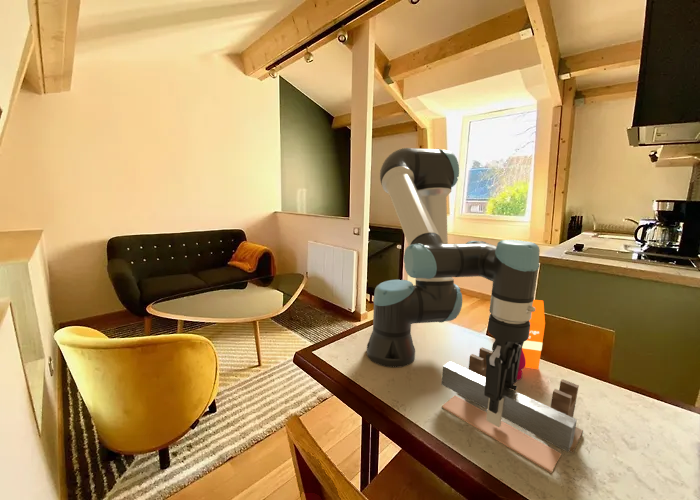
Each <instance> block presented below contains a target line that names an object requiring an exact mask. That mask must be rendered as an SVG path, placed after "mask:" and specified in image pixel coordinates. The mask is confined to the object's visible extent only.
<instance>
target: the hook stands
mask: <svg viewBox="0 0 700 500" xmlns="http://www.w3.org/2000/svg"><path fill="white" fill-rule="evenodd" d="M492 353H493V350H490V349H487V348H485V347H480V348H479V353H478V355H476V354H474V353H471V354H469V355H470V356H469V361H468V370H470V371H473V372H475V373H477V374H479V375H481V376H483V377H486V355H487V354H490V355H492ZM579 387H580V385H579V384H576V383H574V382H571V381H569V380H565V379H563V378H562V379H561V380H560V382H559V389H557V388H554V389H553V390H552V394H551V395H552V396H551V402H550V407H551V408H553V409H555V410H557V411H560V412H562V413H564V414H566V415H568V416H570V417H573V418H574V413H575V408H576V404H577V397H578V392H579ZM583 432H584V430H583V429H581V428H579V427H578V426H576V428H575V433H574V439H573V444H572V445H571V447H570V449H569V451H568V452H570V453H572V454H574V453H575V451H576V449H577V447H578V444H579V443H580V440H581V438H582V436H583V434H584V433H583Z"/></svg>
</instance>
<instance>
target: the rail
mask: <svg viewBox="0 0 700 500" xmlns="http://www.w3.org/2000/svg"><path fill="white" fill-rule="evenodd" d="M485 378H486V377H483V376H481V375H479V374H477V373H475V372H473V371H470V370H469V368H466V367H463V366H462V365H459V364H458V363H455V362H453V361H451V360H450V361H448V362H447V363H445V364H444V365H442V372H441V385H442V386H443V387H445V388H448V389H449V390H451V391H453V392H454V393H456V394H458V395H459V396H462V397H464V398H466V399H468V400H470V401H472V402H474V403H475V404H477V405H479V406H481V407H483V408H484V409H486V410H488V401H489V398H488V397H487V396H485V395H484V391H485ZM502 398H504V402H503V410H502V418H503V419H504V420H507V421H509V422H511V423H512V424H515V425H517V426H518V427H520V428H522V429H524V430H526V431H528V432H529V433H531V434H533V435H535V436H537V437H539V438H540V439H543V440H545V441H546V442H548V443H550V444H552V445H554V446H556V447H558V449H559V448H560V449H561V450H563V451H565V452H567V453H569V452H570V451H569V449H570V447H571V445H572V444H573V439H574V433H575V428H576V427H577V423H578V422H577V421H578V419H577V418H575V417H574V416H573V417H570V416H568V415H566V414H564V413H562V412H560V411H557V410H555V409H553V408H551V406H548V405H546V404H544V403H542V402H540V401H538V400H536V399H534V398H531V397H529V396H527V395H524V394H522V393H520V392H518V391H516V390H513V389H510V388H507V387H505V386H504V389H503V395H502Z"/></svg>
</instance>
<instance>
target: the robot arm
mask: <svg viewBox="0 0 700 500" xmlns="http://www.w3.org/2000/svg"><path fill="white" fill-rule="evenodd" d="M459 175H460V165H459V161H458V159H457V157H456V155H455V154H454V153H453V152H452V151H450V150H449V149H448V150H446V149H442V148H435V149H434V148H416V147H415V148H411V147H404V148H399V149H397V150H395V151H393V152H392V153H390V154H389V155H388V156H387V157H386V159H385V160H384V161H383V163H382V165H381V167H380V172H379V180H380V184H381V187H382V190H383V191H384V192H385V193H387V194H388V195H389V197H390V201H391V204H392V206H393V208H394V210H395V214H396V216H397V218H398V222H399V225H400V227H401V229H402V232H403V234H404V237H405V240H406V243H407V245H408V246H406V248H405V249H404V253H403V262H404V270H405V272H406V274H407V275H408V276H409V277H410V278H412V279H415V284H413V282H412V281H410V280H407V279H401V280H400V279H390V280H385V281H383V282H380V283H379V284H377V285H376V287H375V289H374V295H373V296H374V297H373V301H372V302H373V314H372V315H373V318H372V319H373V320H372V325H373V326H372V331H371V334H370V337H369V339H368V342H367V345H366V355H367V357H368V359H369V360H370V361H372V362H373V363H375V364H377V365H379V366H383V367H387V368H402V367H406V366H408V365H410V364H412V363H413V362H414V360H416V359H415V358H416V348H415V346H414V343H413V337H412V335H411V333H412V332H411V329H412V325H413V324H426V323H444V322H452V321H454V320H455V319H457V317H458V316H459V315H460V313H461V311H462V307H463V293H462V292H461V291H462V290H461V288H460V286H458V285H457V284H456V283H454V282H455V281H454V279H455V278H468V277H469V278H470V277H471V278H473V277H481V278H484V279H486V280H488V281H491V282H492V285H491V286H492V288H491V296H490V301H489V310H488V311H489V316H488V321H487V322H488V325H487V331H488V333H489V335H491V336H492V337H493V338H494V341H493V343H492V347H491V351H493V353H492V355H490V354H487V355H486V378H485V391H484V395H485V396H487V397H488V398H489V401H488V409H486V413H487V418H486V420H487V421H488V422H490V423H492V424H494V425H495V426H497V427H500V426H501V421H502V418H503V417H502V410H503V402H504V398H502V395H503V389H504V386H505V387H507V388H510V389H512V390H514V391H516V390H517V388H518V386H517V385H515V384H514V383H517V381H518V380H517V375H518V369H519V363H520V356H521V350H522V346H523V343H524V341H526V340H528V338H529V332H530V324H531V323H530V322H529V320H530V319H531V315H532V312H534V311H535V310H536V309H535V307H532V305H533V300H535V293H536V286H537V278H538V274H539V273H538V272H539V268H540V249H541V248H540V247H539V245H538V244H536V243H535V242H532V241H526V240H519V239H518V240H517V239H516V240H515V239H504V240H500V241H498V242H497V244H496V245H495V244H491V243H488V242H486V241H482V240H481V241H478V240H469V241H468V242H465V243H448V242H449V241H448V206H447V205H448V204H447V198H448V196H449V195H450V194H451V193H452V188H453V187H455V185H456V184H457V182H458V180H459V178H458V177H459Z"/></svg>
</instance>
